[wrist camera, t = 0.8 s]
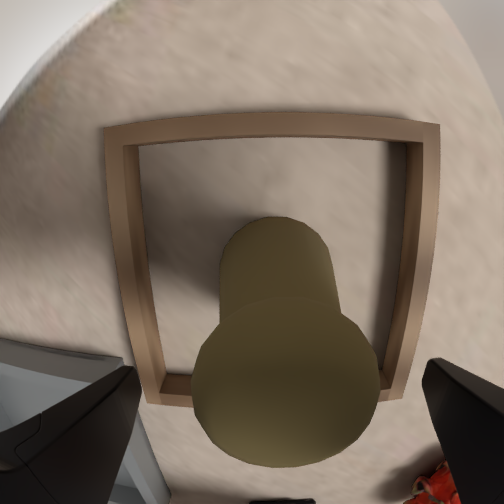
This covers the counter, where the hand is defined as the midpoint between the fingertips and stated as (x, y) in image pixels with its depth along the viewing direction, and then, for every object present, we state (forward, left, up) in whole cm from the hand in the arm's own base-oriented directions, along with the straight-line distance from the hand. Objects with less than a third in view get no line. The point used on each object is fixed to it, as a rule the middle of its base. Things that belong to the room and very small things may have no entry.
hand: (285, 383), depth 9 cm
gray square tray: (-15, +19, -9) cm, 26 cm away
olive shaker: (0, 0, -9) cm, 9 cm away
